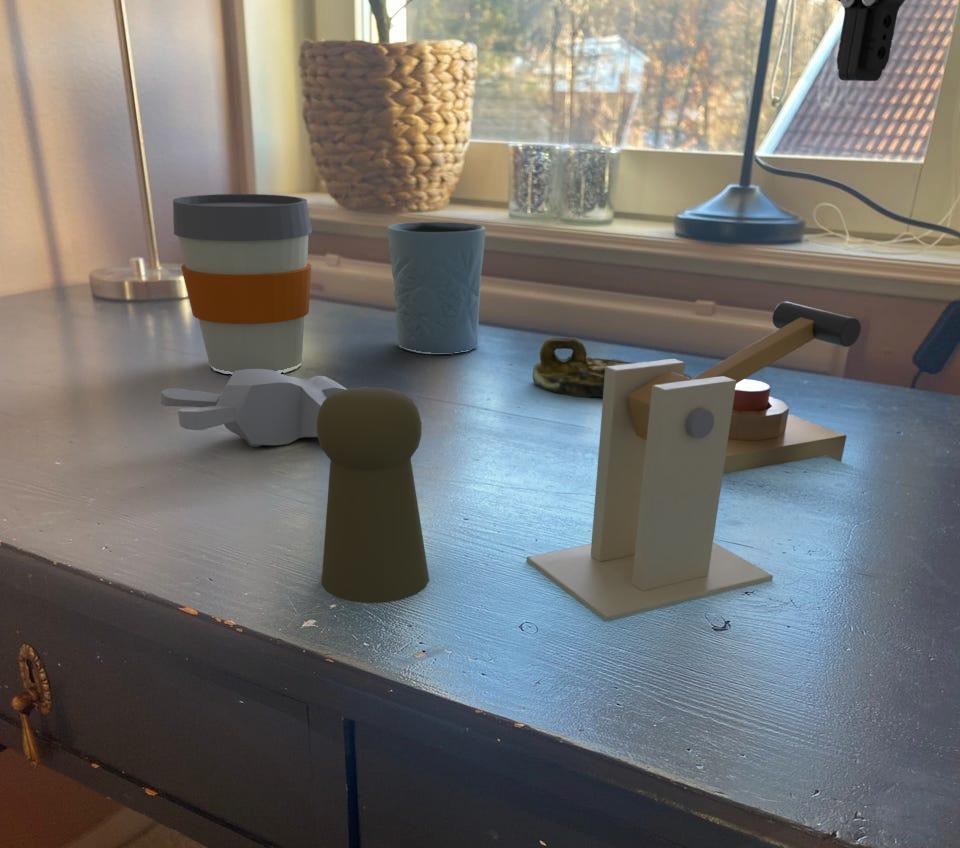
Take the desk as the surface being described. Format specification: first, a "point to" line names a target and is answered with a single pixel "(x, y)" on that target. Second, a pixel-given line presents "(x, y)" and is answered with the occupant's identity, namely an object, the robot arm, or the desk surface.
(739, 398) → the button
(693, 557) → the bracket
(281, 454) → the desk surface
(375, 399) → the cork
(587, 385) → the seal
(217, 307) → the reusable coffee cup
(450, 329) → the blue embossed cup
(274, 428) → the bunny figurine
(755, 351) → the lever
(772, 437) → the button block
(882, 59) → the robot arm
